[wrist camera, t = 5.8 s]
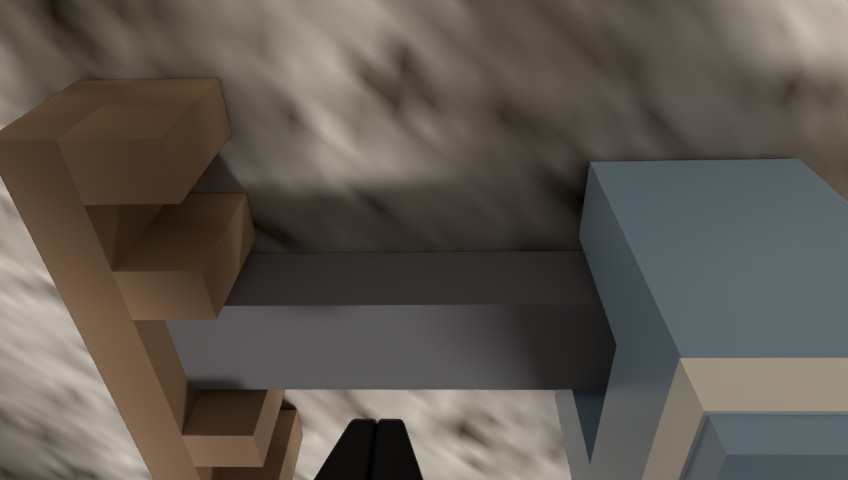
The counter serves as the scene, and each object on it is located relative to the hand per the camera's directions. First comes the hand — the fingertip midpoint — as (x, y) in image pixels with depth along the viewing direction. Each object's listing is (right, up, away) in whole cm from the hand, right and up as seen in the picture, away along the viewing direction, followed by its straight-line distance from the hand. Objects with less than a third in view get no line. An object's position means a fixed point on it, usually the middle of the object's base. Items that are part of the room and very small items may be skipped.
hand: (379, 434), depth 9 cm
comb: (-4, +2, +3) cm, 5 cm away
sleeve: (+6, +2, +2) cm, 6 cm away
